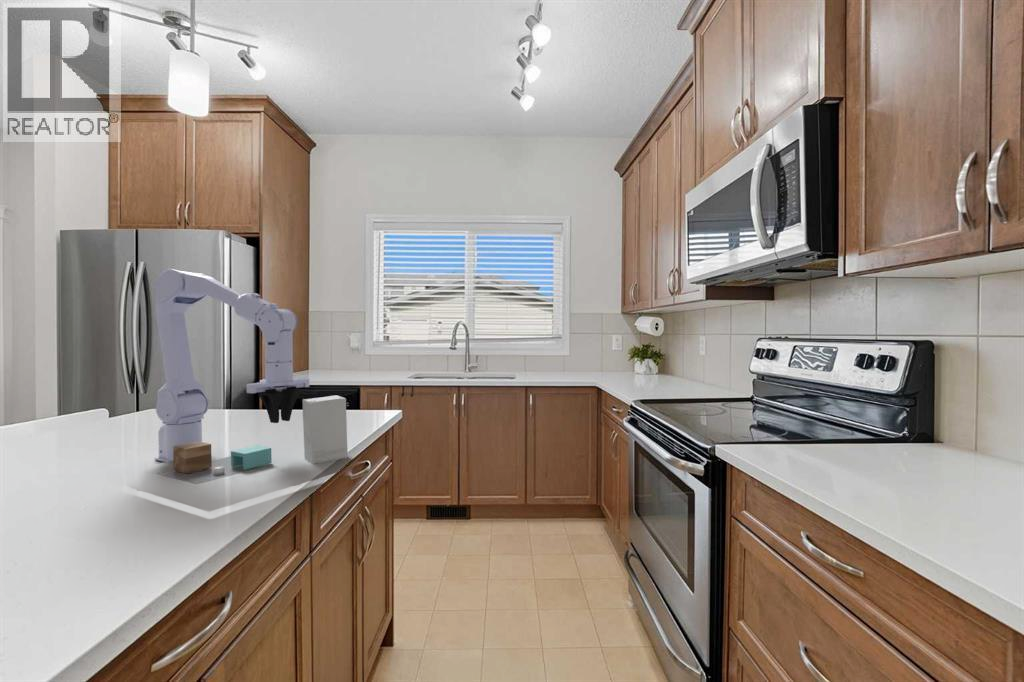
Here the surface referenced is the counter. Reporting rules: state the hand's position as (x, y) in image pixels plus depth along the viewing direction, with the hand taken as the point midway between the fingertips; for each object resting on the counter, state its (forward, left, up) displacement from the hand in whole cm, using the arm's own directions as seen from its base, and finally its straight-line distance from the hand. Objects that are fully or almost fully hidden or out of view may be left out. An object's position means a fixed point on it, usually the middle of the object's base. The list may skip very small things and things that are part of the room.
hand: (280, 421), depth 114 cm
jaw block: (-8, -15, -8) cm, 19 cm away
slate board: (-4, -12, -9) cm, 16 cm away
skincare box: (+9, +5, -10) cm, 14 cm away
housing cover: (0, -7, -8) cm, 11 cm away
